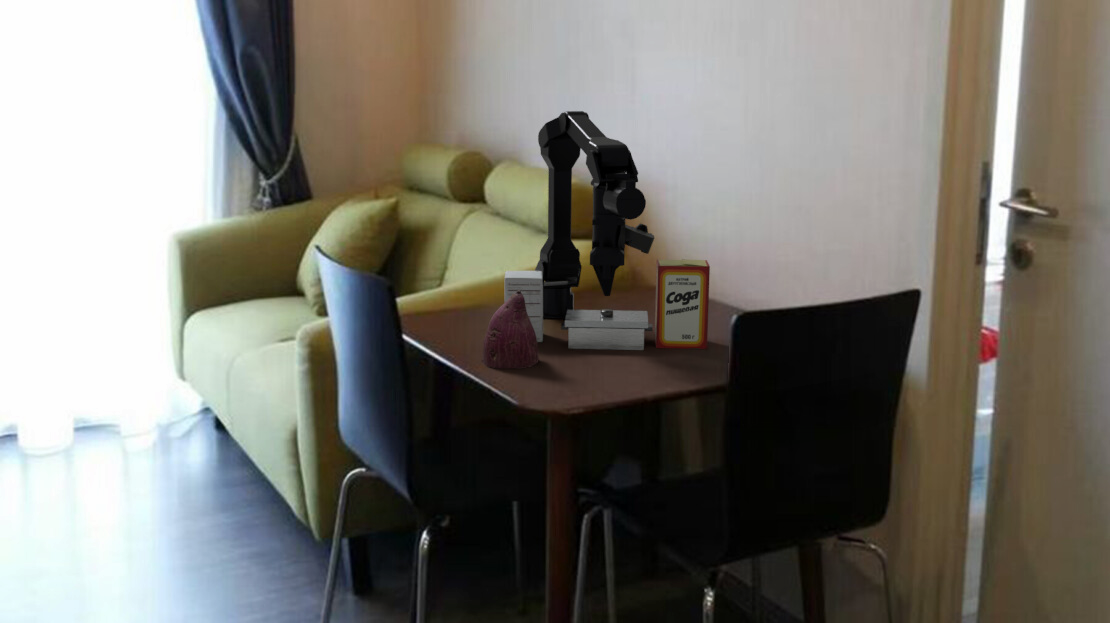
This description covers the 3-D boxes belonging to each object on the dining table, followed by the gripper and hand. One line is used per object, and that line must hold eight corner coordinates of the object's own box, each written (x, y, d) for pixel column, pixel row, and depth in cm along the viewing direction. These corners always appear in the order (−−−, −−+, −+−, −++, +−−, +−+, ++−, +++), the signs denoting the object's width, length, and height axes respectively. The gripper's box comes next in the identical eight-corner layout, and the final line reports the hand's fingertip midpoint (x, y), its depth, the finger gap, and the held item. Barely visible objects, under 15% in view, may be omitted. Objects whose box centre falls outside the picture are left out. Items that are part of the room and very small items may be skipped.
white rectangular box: (559, 348, 224) (560, 327, 223) (562, 336, 234) (562, 316, 233) (652, 350, 223) (652, 329, 222) (651, 337, 233) (651, 317, 232)
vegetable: (545, 381, 214) (566, 304, 209) (495, 381, 209) (516, 303, 203) (517, 354, 222) (537, 280, 217) (468, 354, 217) (487, 278, 211)
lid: (564, 326, 223) (564, 315, 223) (567, 315, 233) (567, 304, 233) (648, 328, 222) (648, 316, 222) (647, 316, 233) (647, 305, 232)
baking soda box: (656, 348, 225) (658, 263, 222) (654, 339, 231) (656, 257, 228) (707, 348, 225) (709, 264, 221) (704, 340, 231) (706, 258, 228)
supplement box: (505, 333, 236) (505, 270, 233) (543, 333, 236) (543, 270, 233) (504, 342, 229) (503, 277, 226) (543, 342, 229) (543, 277, 226)
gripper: (653, 220, 212) (651, 306, 215) (651, 206, 230) (649, 286, 233) (590, 219, 212) (589, 305, 215) (592, 205, 230) (592, 285, 234)
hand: (607, 295), depth 224 cm, fingers closed
